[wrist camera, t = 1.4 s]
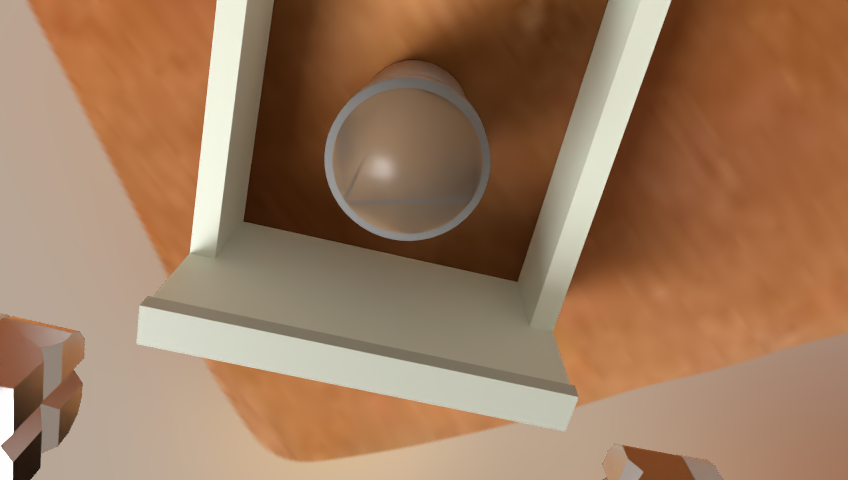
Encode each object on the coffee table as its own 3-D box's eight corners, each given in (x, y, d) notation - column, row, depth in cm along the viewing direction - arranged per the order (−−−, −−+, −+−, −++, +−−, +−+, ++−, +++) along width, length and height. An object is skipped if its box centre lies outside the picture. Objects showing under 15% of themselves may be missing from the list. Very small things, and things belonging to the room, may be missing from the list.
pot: (365, 37, 32) (340, 61, 24) (491, 68, 33) (510, 102, 24) (341, 161, 34) (311, 221, 26) (458, 187, 35) (466, 255, 27)
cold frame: (263, -124, 29) (176, -173, 19) (643, -25, 31) (743, -23, 21) (218, 241, 36) (136, 344, 26) (530, 309, 38) (565, 431, 28)
